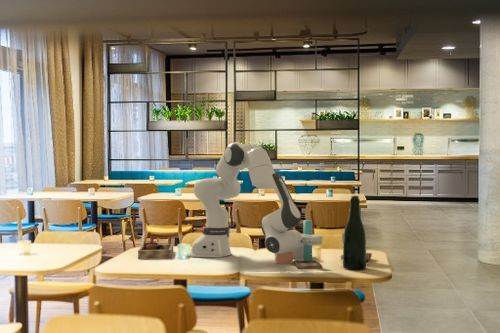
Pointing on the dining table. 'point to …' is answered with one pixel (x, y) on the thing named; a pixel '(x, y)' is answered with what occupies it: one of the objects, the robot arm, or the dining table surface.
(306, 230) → the teal dowel
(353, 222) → the dark green wine bottle
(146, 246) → the pottery mug
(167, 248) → the shallow wooden crate
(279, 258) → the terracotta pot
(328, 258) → the dining table surface
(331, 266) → the dining table surface
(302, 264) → the walnut tray
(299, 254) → the gray bumpy block
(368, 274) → the dining table surface
